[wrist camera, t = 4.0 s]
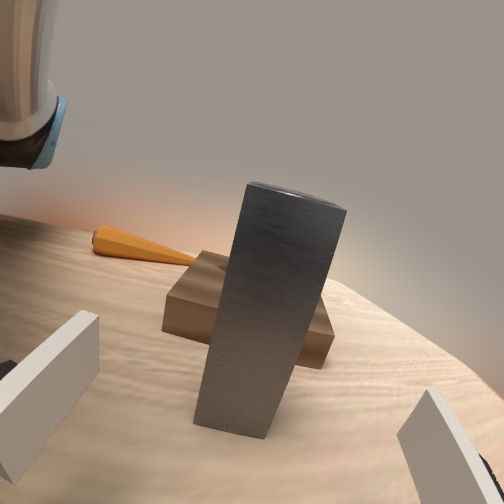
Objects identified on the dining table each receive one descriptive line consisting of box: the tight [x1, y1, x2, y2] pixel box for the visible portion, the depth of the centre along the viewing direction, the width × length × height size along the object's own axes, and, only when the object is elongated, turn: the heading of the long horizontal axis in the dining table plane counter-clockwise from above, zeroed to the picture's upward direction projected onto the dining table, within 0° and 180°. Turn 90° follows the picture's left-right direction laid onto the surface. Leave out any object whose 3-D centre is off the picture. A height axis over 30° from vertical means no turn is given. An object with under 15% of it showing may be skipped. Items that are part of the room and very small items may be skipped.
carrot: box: [92, 226, 196, 265], centre depth 46 cm, size 20×4×4 cm, turn 107°
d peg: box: [193, 182, 347, 439], centre depth 19 cm, size 5×5×16 cm
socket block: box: [162, 250, 335, 369], centre depth 37 cm, size 16×16×4 cm
